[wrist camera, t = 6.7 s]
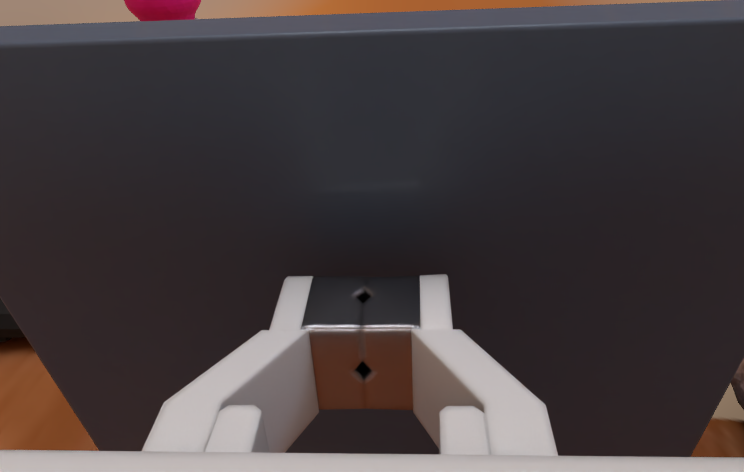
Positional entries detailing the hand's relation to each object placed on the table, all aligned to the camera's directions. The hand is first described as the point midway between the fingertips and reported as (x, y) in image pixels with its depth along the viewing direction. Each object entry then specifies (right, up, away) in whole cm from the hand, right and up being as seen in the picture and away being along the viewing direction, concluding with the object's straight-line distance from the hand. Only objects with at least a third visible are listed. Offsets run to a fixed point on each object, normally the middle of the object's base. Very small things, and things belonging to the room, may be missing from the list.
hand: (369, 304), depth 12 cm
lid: (0, 0, +3) cm, 3 cm away
